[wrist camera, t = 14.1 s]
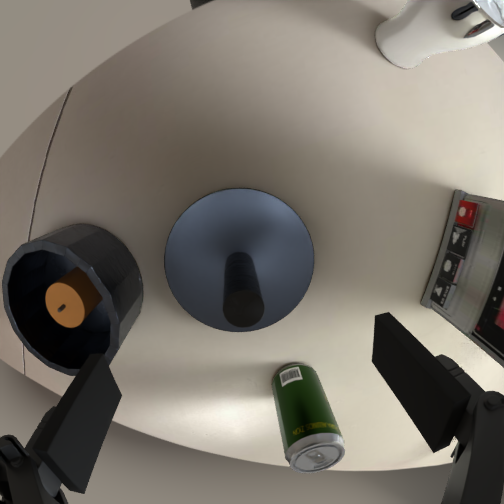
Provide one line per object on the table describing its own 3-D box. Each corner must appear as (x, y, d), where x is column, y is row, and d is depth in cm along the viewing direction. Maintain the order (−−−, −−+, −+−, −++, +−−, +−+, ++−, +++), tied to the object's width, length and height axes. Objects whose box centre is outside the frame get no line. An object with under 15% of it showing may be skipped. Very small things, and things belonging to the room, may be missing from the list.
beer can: (262, 376, 32) (275, 459, 20) (303, 353, 31) (334, 432, 20) (285, 402, 33) (303, 480, 21) (324, 381, 33) (355, 456, 21)
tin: (30, 235, 26) (-13, 254, 19) (127, 212, 26) (93, 227, 19) (63, 338, 29) (33, 373, 22) (156, 332, 29) (139, 375, 22)
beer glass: (368, 58, 23) (458, -3, 9) (372, 9, 22) (445, -58, 7) (423, 82, 24) (523, 50, 10) (424, 34, 23) (509, -10, 8)
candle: (64, 268, 27) (33, 289, 21) (98, 262, 27) (70, 284, 21) (76, 307, 28) (50, 333, 22) (109, 303, 28) (86, 331, 22)
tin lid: (154, 201, 26) (112, 218, 16) (303, 178, 26) (343, 182, 17) (184, 334, 30) (167, 400, 20) (315, 314, 30) (348, 373, 20)
